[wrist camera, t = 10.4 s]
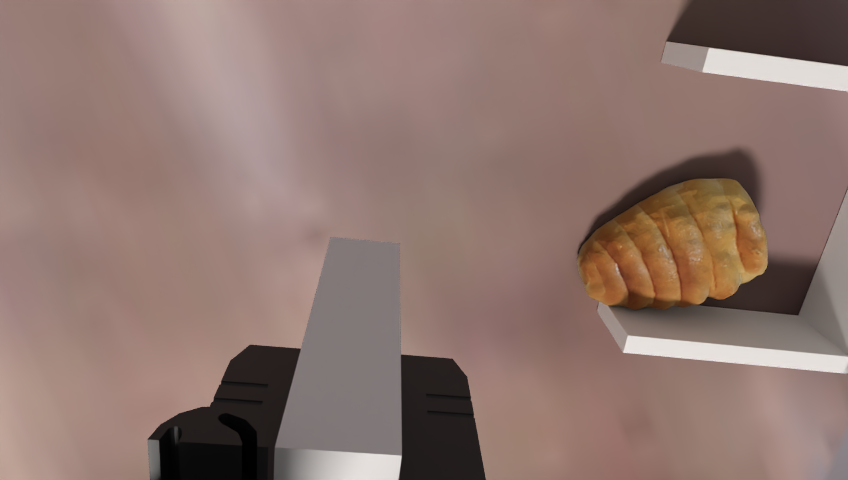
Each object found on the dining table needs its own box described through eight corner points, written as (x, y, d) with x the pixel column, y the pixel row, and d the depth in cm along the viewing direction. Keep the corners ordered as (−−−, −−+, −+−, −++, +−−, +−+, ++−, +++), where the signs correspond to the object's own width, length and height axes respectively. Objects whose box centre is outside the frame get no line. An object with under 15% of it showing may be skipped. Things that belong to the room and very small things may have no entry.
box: (666, 41, 30) (709, 47, 26) (911, 74, 31) (991, 86, 27) (596, 311, 35) (623, 352, 31) (808, 332, 36) (861, 374, 32)
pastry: (590, 319, 36) (610, 353, 32) (559, 217, 33) (577, 242, 30) (748, 266, 35) (787, 296, 31) (728, 158, 33) (767, 176, 29)
